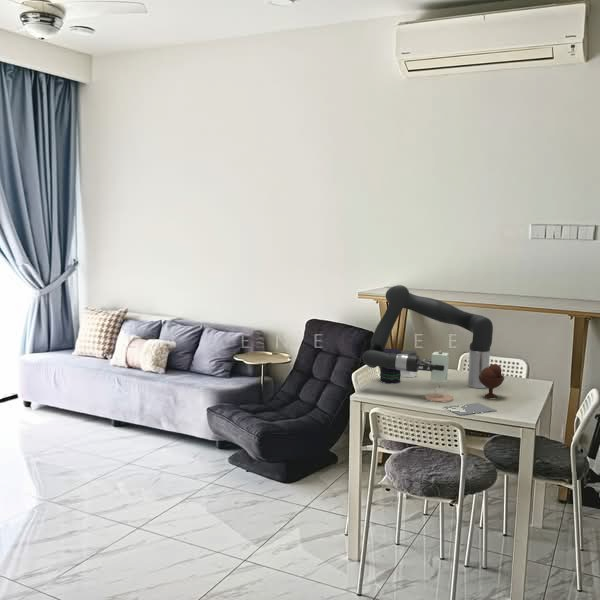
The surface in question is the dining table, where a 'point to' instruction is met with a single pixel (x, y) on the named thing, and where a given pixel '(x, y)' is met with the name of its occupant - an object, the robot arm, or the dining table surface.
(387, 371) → the storage jar
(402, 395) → the dining table surface
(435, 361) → the tall green carton
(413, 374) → the jar
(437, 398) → the saucer
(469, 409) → the mat
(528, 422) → the dining table surface
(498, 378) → the ice cream bowl
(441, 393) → the candle
